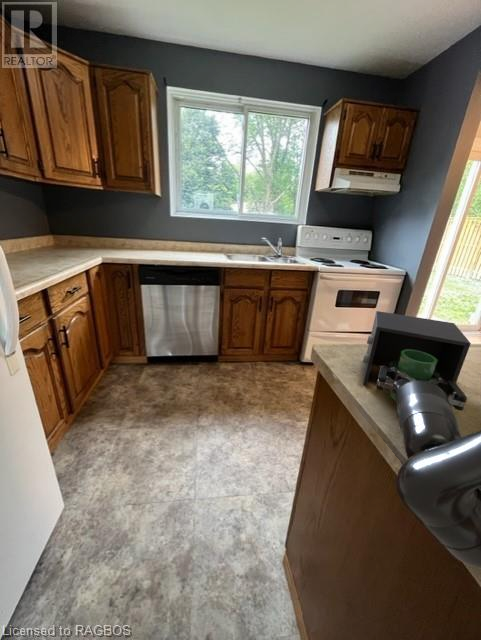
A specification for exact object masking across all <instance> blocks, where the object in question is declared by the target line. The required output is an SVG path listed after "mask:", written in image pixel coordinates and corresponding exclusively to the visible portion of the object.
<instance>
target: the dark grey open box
mask: <svg viewBox="0 0 481 640" xmlns="http://www.w3.org/2000/svg"><path fill="white" fill-rule="evenodd" d="M366 344H368V346H367V351H366V353H364V354H363V357H362V363H364V368H363V381H362V384H363V386H368V383H369V378H370V374H371V370H372V366H378V367H381V366H386V367H389V363H390V362H393V360H395V361H397V363H398V361H399V357H400V354H401V351H402V350H406V349H412V350H418V351H422V352H425V353H428V354H430V355H432V356H434V357H435V358H436V359H437V361H438V363H437V366H436V369H435V370H436V372H438V373H439V374H440V376H441V377H442V378H443V379H444V381H446V382H448V381H453V382H455V383H456V384H457V381H458V379H459V377H460V373H461V371H462V368H463V366H464V363H465V360H466V357H467V354H468V352H469V349H470V347H471V344H472V342H470V340H469V339H468V338H467V337H466V335H465V334H464V333H463V332H462V331H461V329H460V328H459V327H458V326H457V325H456V323H454V322H449V321H443V320H436V319H430V318H423V317H418V316H410V315H405V314H399V313H392V312H385V311H381V310H380V311H379V310H376V312H375V315H374V320H373V325H372V329H371V333H370V334H368V336H367V340H366Z"/></svg>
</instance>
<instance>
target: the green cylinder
mask: <svg viewBox="0 0 481 640" xmlns="http://www.w3.org/2000/svg"><path fill="white" fill-rule="evenodd" d="M437 363H438V361H437V359H436V358H435V357H434V356H432V355H430V354H428V353H425V352H422V351H418V350H412V349H406V350H402V351H401V354H400V357H399V361H398V369H399V370H400V371H404V372H405V373H407V374H408V375H409V376H410V377H411V378H414V379H417V380H423V381H430V380H431V379H432V378H433V375H434V372H435V369H436V366H437ZM391 382H392V381H391ZM392 383H393V382H392ZM389 396H390V398H391V399H392V400H394V401H395V402H396V395H395V394H394V393H393V392H392V390H391V389H390V391H389Z"/></svg>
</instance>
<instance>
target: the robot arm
mask: <svg viewBox="0 0 481 640" xmlns="http://www.w3.org/2000/svg"><path fill="white" fill-rule="evenodd" d="M392 382H393V383H392ZM384 388H385V389H387V390H388V389H389V390H390V391H391V390H392V392H393V393H394V394H395V395H396V401H395V403H396V404H395V405H396V410H397V411H396V415H397V416H396V417H397V420H398V424H399V426H400V430H401V433H402V439H403V447H404V452H405V455H406V457H407V459H406V460H405V461H404V462H403V464H402V465H401V467H399V470H398V472H397V474H396V480H395V488H396V491H397V495H398V497H399V499H400V500H401V502H402V503H403V504H404V506H405V507H406V508H407V509H408V511H410V513H411V514H413V516H414V517H415V518H416V519H417V520H418V521H419V522H420V523H421V525H423V527H425V529H426V530H427V531H428V532H429V534H431V535H432V537H434V539H435V540H436V541H437V542H438V543H439V544H440V545H441V546H442V547H443V549H445V551H446V552H448V553H449V554H450V555H451V556H452V557H454V558H455V559H456V560H458V561H459V562H461V563H463V564H464V565H467V566H469V567H471V568H473V569H477V570H481V429H480V430H478V431H475V432H472V433H470V434H467V435H464V436H463V435H462V434H461V431H460V426H459V425H460V424H459V422H458V419H457V417H456V414H455V412H454V410H453V408H454V409H455V410H457V411H459V412H461V411H463V410H464V408H465V406H466V403H467V400H468V397H467V396H466V394H465V393H464V392H463V390H462V389H461V387H459V385H458V384H457V382H456V383H455V382H453V381H448V382H446V381H444V379H443V378H442V377H441V376H440V374H439V373H438V372H436V370H435V372H434V375H433V378H432V379H431V380H430V381H423V380H417V379H414V378H411V377H410V376H409V375H408V374H407V373H405V372H404V371H400V370H399V369H398V363H397V361H395V360H393V362H390V363H389V367H386V366H380V369H379V373H378V377H377V380H376V385H375V389H377V390H379V391H382V390H383V391H384ZM452 407H453V408H452Z"/></svg>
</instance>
